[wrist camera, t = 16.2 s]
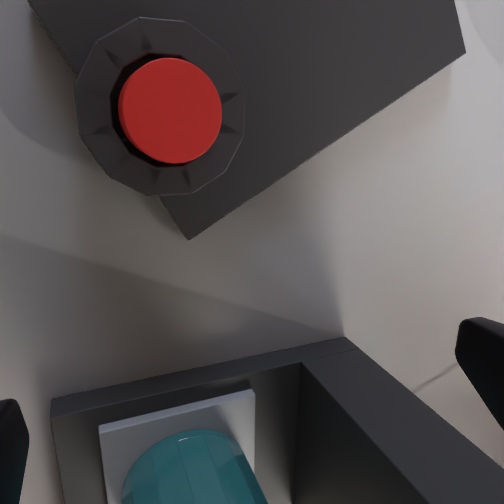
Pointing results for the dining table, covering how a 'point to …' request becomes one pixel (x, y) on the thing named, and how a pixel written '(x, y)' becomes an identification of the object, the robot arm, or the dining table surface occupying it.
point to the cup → (192, 472)
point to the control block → (246, 82)
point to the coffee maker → (281, 431)
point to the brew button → (170, 110)
